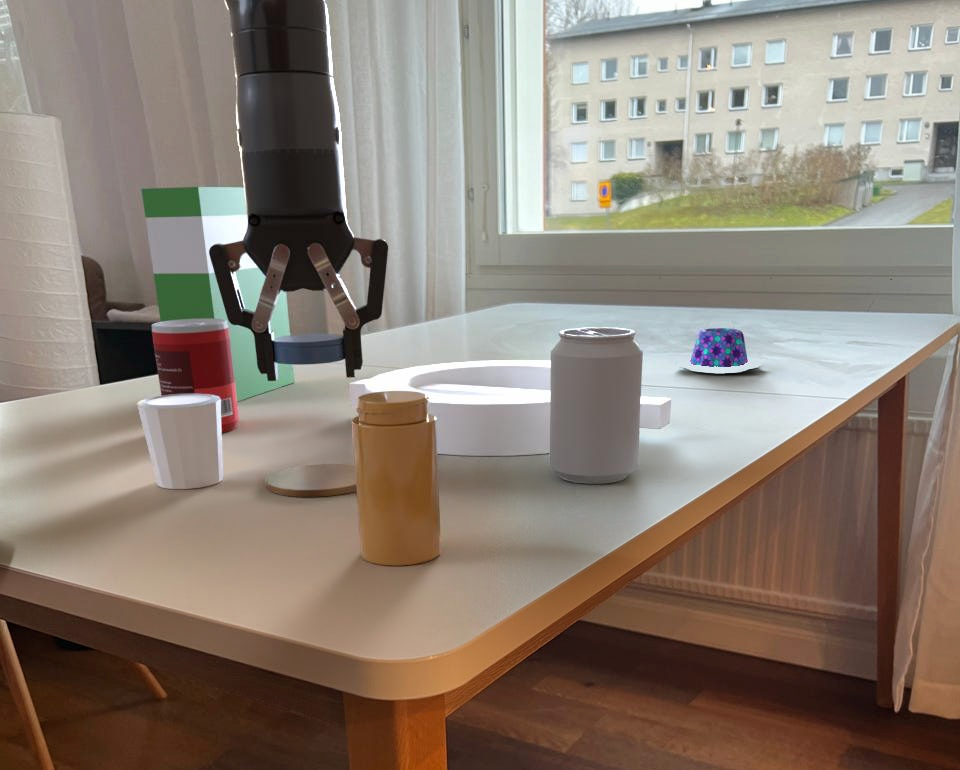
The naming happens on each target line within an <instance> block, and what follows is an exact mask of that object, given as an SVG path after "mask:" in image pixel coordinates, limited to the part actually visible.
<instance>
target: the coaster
mask: <svg viewBox="0 0 960 770" xmlns="http://www.w3.org/2000/svg"><path fill="white" fill-rule="evenodd" d="M265 485H266V489H267V490H268V491H269V492H270V493H273V494H277V495H281V496H287V497H294V498H295V497H296V498H318V497H319V498H322V497H332V496H339V495H344V494H350V493H354V492H356V480H355V466H354V464H347V463H315V464H306V465H305V464H304V465H298V466H292V467H288V468H284V469H281V470H278V471H275V472H273V473H271V474H269V475H268V476H267V477H266V478H265Z"/></svg>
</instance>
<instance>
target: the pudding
mask: <svg viewBox="0 0 960 770" xmlns="http://www.w3.org/2000/svg"><path fill="white" fill-rule="evenodd" d="M747 354H748V353H747V348H746V341H745V335H744V332H743V331H742V330H740V329H736V328H726V327H717V328H713V327H712V328H706V329H705V328H704V329H701V330H700V331H699V332H698V334H697V337H696V340H695V343H694V346H693V350H692V354H691V357H690V359H691V360H690V362H691V364H693V365H701V366H709V367H714V366H716V367H717V366H718V367H731V366H740V365H744V364H745V363H747V362H748V360H749V359H748V355H747Z"/></svg>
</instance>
